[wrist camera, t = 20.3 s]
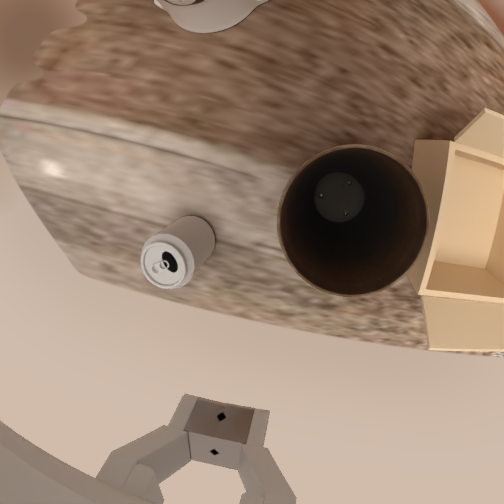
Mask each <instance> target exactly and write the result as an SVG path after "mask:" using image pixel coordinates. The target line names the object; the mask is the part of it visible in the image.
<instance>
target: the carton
mask: <svg viewBox="0 0 504 504" xmlns="http://www.w3.org/2000/svg"><path fill="white" fill-rule="evenodd" d="M411 170H412V171H413V172H414V174H415V175H416V177H417V178H418V180H419V181H420V183H421V185H422V187H423V189H424V192H425V195H426V198H427V202H428V206H429V216H430V223H429V232H428V237H427V241H426V244H425V246H424V249H423V251H422V253H421V255H420V257H419V259H418V261H417V262H416V263H415V265H414V266H413V267H412V269H411V270H410V271H409V272H408V273H407V274H406V276H407V278H408V280H409V281H410V283H411V284H412V286H413V287H414V289H415V291H416V292H417V294H418V295H426V296H435V297H444V298H453V299H463V300H472V301H482V302H492V303H502V304H504V158H502V157H499V156H496V155H494V154H491V153H488V152H485V151H482V150H479V149H476V148H473V147H470V146H466V145H463V144H460V143H457V142H453V141H448V140H415V145H414V153H413V161H412V168H411Z"/></svg>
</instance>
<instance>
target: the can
mask: <svg viewBox="0 0 504 504" xmlns="http://www.w3.org/2000/svg"><path fill="white" fill-rule="evenodd" d="M214 246H215V236H214V233H213V230H212V229H211V227H210V226H209V224H208V223H207V222H205V221H204V220H203V219H201V218H198V217H196V216H185V217H181V218H179V219H178V220H176V221H175V222H173V223H172V224H170V225H169V226H167V227H166V228H164V229H163V230H161V231H159V232H158V233H156V234H155V235H153V236H152V237H151V238H150V239H148V240H147V241H146V243H145V245H144V246H143V250H142V255H141V260H140V261H141V268H142V270H143V273H144V275H145V276H146V278H147V279H148V280H149V281H150V282H151V283H152V284H154V285H155V286H158V287H160V288H164V289H170V288H178V287H182V286H183V285H185V284H187V283H188V282H189V281H190V279H191V278H192V277H193V276H194V274H195V273H196V272H197V271H198V270H199V268H200V267H201V266H202V265H203V263H204V262H205V261H206V260H207V259H208V257H209V256H210V255H211V253H212V252H213V250H214Z"/></svg>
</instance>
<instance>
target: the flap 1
mask: <svg viewBox="0 0 504 504" xmlns="http://www.w3.org/2000/svg"><path fill="white" fill-rule="evenodd" d="M454 141H455V142H457V143H461V144H464V145H467V146H470V147H473V148H476V149H479V150H482V151H485V152H488V153H491V154H494V155H497V156H500V157H502V158H504V115H501V114H499V113H497V112H494V111H492V110H489V109H487V108H484V109H483V110H482V111H481V112H480V113H479V114H478V115H477V116H476V117H475V118H474V119H473V120H472V121H471V122H470V123H469V124H468V125H467V126H466V127H465V128H464V129H463V130H462V131H461V132H460V133H458V134H457V135H456V136H455V137H454Z"/></svg>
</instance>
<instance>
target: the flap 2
mask: <svg viewBox="0 0 504 504" xmlns="http://www.w3.org/2000/svg"><path fill="white" fill-rule="evenodd" d="M421 304H422V310H423V316H424V322H425V329H426V337H427V344H428V350H444V351H504V304H495V303H485V302H475V301H466V300H456V299H447V298H438V297H429V296H422V297H421Z"/></svg>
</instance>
